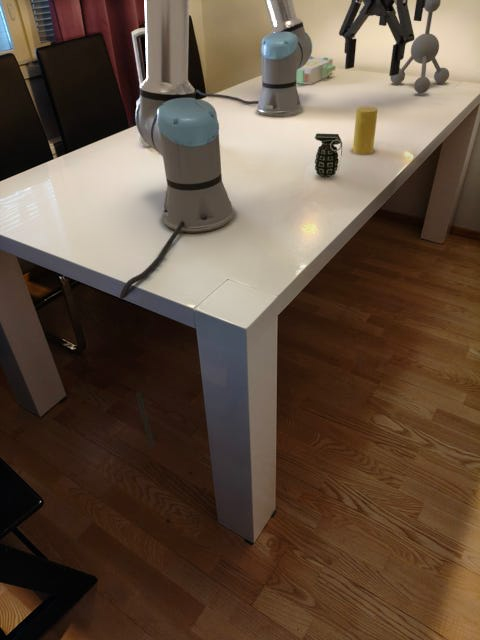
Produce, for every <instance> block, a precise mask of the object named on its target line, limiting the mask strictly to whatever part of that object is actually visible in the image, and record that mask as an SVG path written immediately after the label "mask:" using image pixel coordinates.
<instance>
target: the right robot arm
mask: <svg viewBox="0 0 480 640" xmlns="http://www.w3.org/2000/svg"><path fill="white" fill-rule="evenodd" d="M264 2H265V5H266V6H265V7H266V9H267V12H268V16H269V21H270V24H271V26H272V27H271V30H270V33H269V34H267V35H265V36H264V37H263V38H262V40H261V48H260V53H261V55H260V56H261V82H262V83H261V91H260V95H259V99H258V100H249V101H248V100H244V99H241V98H239V97H237V96H232V95H225V94H220V93H219V94H217V93H205V92H202V91H201V90H199V89H195V95H196V94H199V95H200V96H203V97H208V98H209V97H211V98H223V99H229V100H234V101H237V102H240V103H242V104H245V105H257V108H256V110H257V114H259V115H260V116H262V117H270V118H285V117H292V116H295V115H298V114H300V113H301V111H302V102H301V99H300V94H299V92H298V88H297V83H296V79H297V69H299V68H301V67H303V66H304V65H305V64H306V62H307V61H308V60H309V58H310V56H312V52H313V42H312V39H311V37H310V35H309V34H308V33H307V32H306V30H305V27H304V22H303V20H301V18H298V17H297V14H296V10H295V6H294V2H293V0H264ZM425 2H426V0H416V1H415V7H414V14H413V22H414V21H415V22H422V18H423V13H424V12H423V11H424V9H425V8H424V7H425ZM378 20H379V21H378V26H382V27H386V26H388V24H387V22H386V19H384V18H383V16H379V19H378Z"/></svg>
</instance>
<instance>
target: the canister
mask: <svg viewBox="0 0 480 640" xmlns="http://www.w3.org/2000/svg"><path fill="white" fill-rule="evenodd" d="M355 112H356V113H355V122H354V133H353V134H354V135H353V142H352V143H353V144H352V152H353V153H355V154H357V155H370V154H372V153H373V152H374V145H375V137H376V130H377V129H376V128H377V121H378V112H379V109H378V108H377V107H375V106H359V107H357V108H356V111H355Z"/></svg>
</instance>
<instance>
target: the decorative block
mask: <svg viewBox="0 0 480 640" xmlns="http://www.w3.org/2000/svg"><path fill="white" fill-rule="evenodd" d="M333 61H334V59H333V58H328V57H313V56H312V55H311V56H310V58H309V60H308V61H307V62H306V64H305V65H304V66H303V67H301V68H299V69H297V79H296V84H304V85H312V84H315V83H317V82H319V81H321V80H324V79H326V78H328V77H330V75H332V74H333V71H336V65H333Z"/></svg>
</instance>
